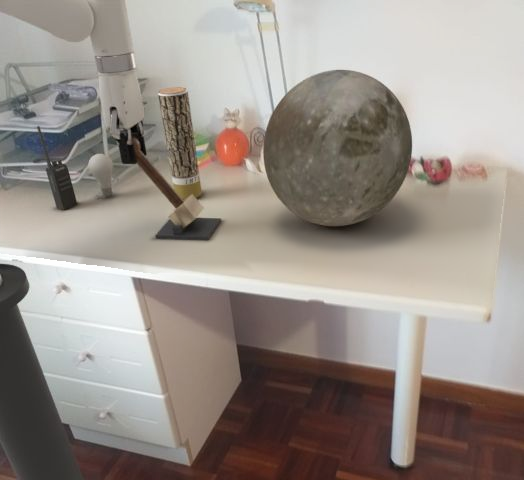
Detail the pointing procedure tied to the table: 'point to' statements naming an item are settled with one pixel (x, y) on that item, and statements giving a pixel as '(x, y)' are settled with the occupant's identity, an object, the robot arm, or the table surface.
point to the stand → (189, 229)
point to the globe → (337, 148)
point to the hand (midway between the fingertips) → (134, 158)
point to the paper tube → (180, 141)
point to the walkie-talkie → (59, 181)
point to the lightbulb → (102, 172)
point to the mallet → (169, 191)
